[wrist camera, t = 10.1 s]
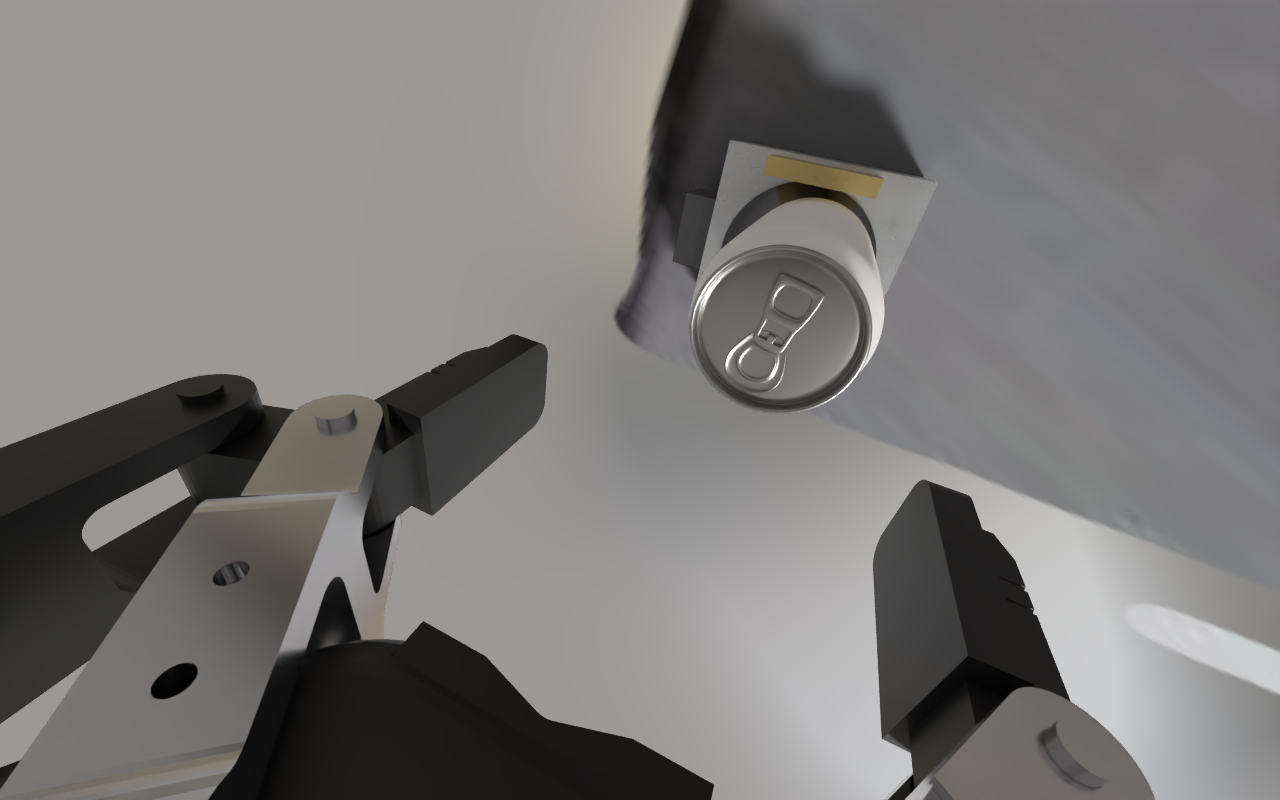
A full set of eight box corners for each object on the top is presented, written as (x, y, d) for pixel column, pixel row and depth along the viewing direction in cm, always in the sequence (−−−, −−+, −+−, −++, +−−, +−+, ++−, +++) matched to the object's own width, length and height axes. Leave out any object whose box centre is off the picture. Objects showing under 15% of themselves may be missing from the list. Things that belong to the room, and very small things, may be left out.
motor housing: (716, 135, 28) (675, 130, 21) (924, 177, 25) (949, 187, 19) (681, 291, 33) (640, 325, 27) (849, 341, 30) (849, 393, 24)
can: (723, 289, 27) (650, 370, 17) (779, 174, 23) (727, 191, 13) (826, 340, 26) (812, 457, 16) (901, 229, 22) (942, 291, 12)
